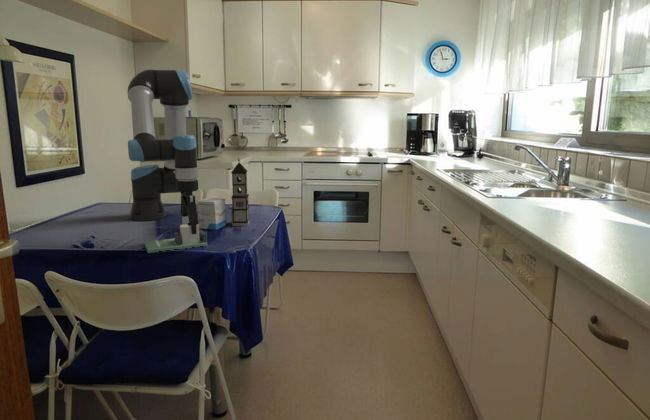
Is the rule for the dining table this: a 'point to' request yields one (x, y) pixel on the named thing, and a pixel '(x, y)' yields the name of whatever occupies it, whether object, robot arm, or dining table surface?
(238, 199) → the miniature building
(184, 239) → the plug
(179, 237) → the board
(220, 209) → the ink box
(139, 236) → the dining table surface
